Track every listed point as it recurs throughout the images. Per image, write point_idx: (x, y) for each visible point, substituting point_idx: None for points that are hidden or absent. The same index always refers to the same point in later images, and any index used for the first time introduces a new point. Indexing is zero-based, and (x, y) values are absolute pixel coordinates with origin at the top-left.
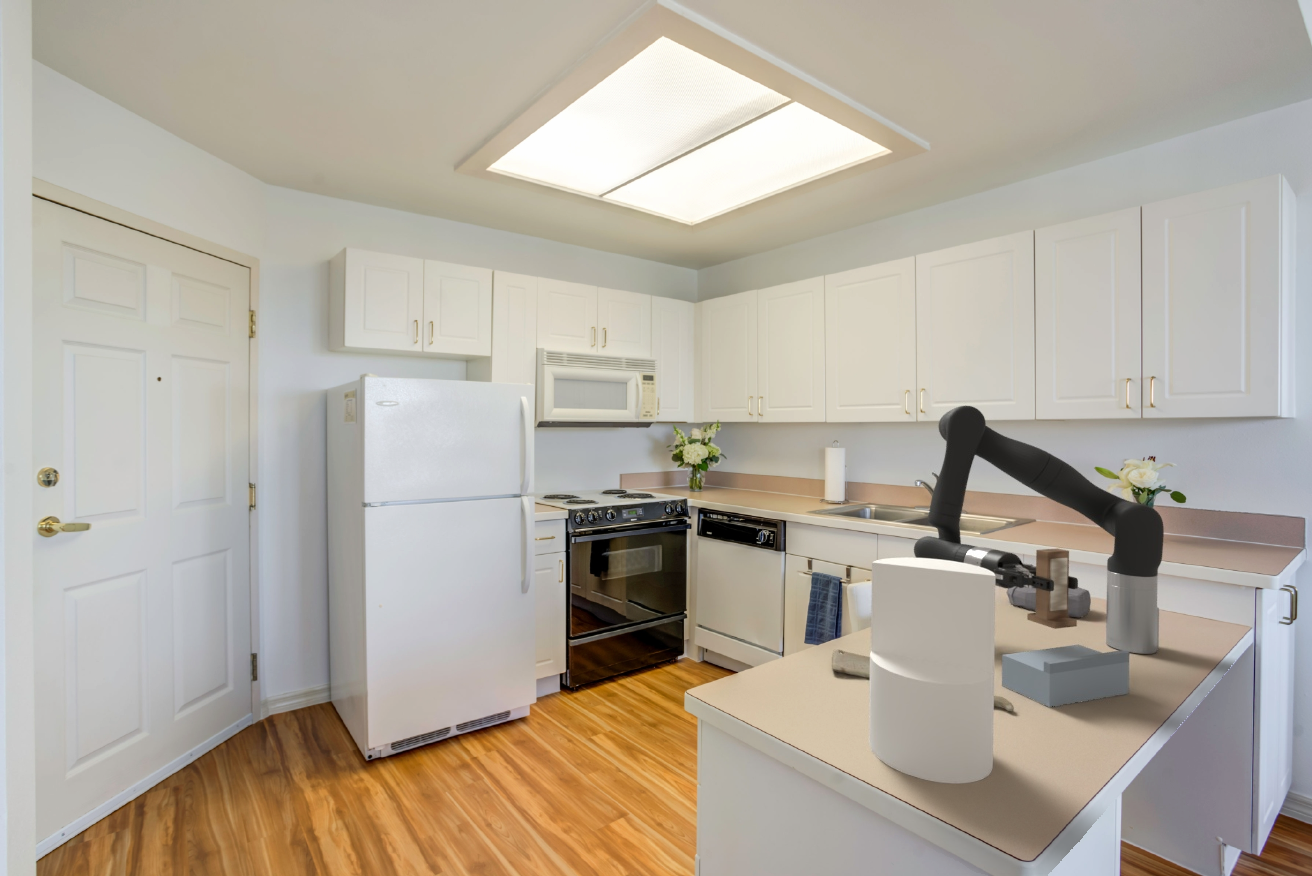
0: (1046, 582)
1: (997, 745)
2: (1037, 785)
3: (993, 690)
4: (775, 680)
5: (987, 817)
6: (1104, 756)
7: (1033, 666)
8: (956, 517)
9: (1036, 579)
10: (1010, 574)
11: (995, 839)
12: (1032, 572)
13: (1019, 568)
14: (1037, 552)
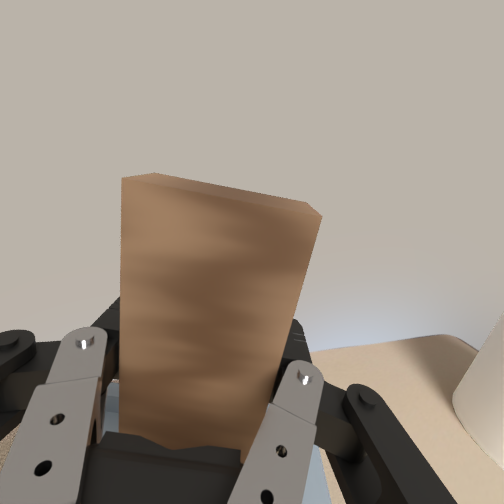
0: (294, 321)
1: (436, 419)
2: (417, 364)
3: (491, 331)
4: None
5: (469, 359)
6: (327, 362)
7: (318, 470)
8: None
9: (306, 350)
10: (421, 468)
11: (467, 347)
12: (174, 452)
13: (300, 484)
14: (315, 230)
